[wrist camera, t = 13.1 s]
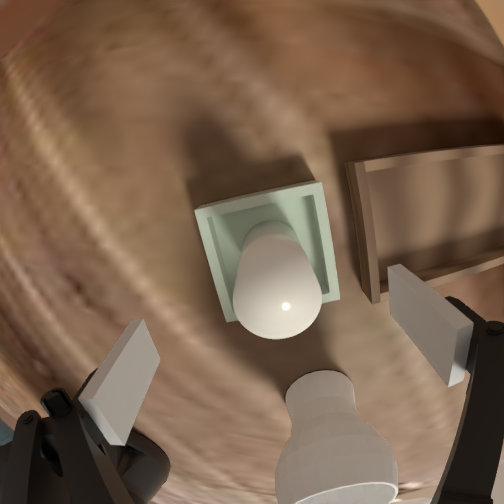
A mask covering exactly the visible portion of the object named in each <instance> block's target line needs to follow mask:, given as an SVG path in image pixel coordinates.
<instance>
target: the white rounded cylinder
mask: <svg viewBox="0 0 504 504" xmlns="http://www.w3.org/2000/svg"><path fill="white" fill-rule="evenodd" d="M321 304H322V292H321V287H320V285H319V282H318V280H317V278H316V275H315V273H314V271H313V269H312V267H311V264H310V262H309V260H308V258H307V256H306V254H305V251H304V249H303V247H302V245H301V243H300V241H299V239H298V237H297V235H296V233H295V232H294V230H293V229H292V228H291V227H289V226H288V225H287V224H285V223H282V222H280V221H274V220H269V221H264V222H261V223H258V224H257V225H255V226H254V227H252V228H251V229H250V230H249V232H248V233H247V235H246V236H245V239H244V242H243V247H242V252H241V257H240V262H239V267H238V272H237V277H236V282H235V287H234V292H233V308H234V312H235V314H236V316H237V318H238V320H239V321H240V323H241V324H242V325H243V326H244V327H245V328H246V329H247V330H249V331H250V332H252V333H253V334H255V335H258V336H260V337H263V338H268V339H284V338H288V337H292V336H295V335H297V334H299V333H301V332H302V331H304V330H305V329H307V328H308V327H309V326H310V325H311V324H312V323H313V322H314V320H315V319H316V317H317V315H318V313H319V311H320V308H321Z"/></svg>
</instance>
